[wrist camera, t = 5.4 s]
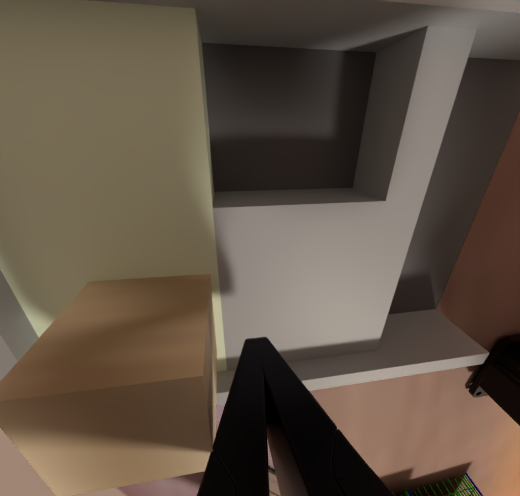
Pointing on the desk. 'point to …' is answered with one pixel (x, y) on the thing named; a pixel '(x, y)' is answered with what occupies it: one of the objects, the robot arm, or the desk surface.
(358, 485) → the robot arm
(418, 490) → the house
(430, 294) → the tray
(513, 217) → the desk surface
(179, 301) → the wooden cube
